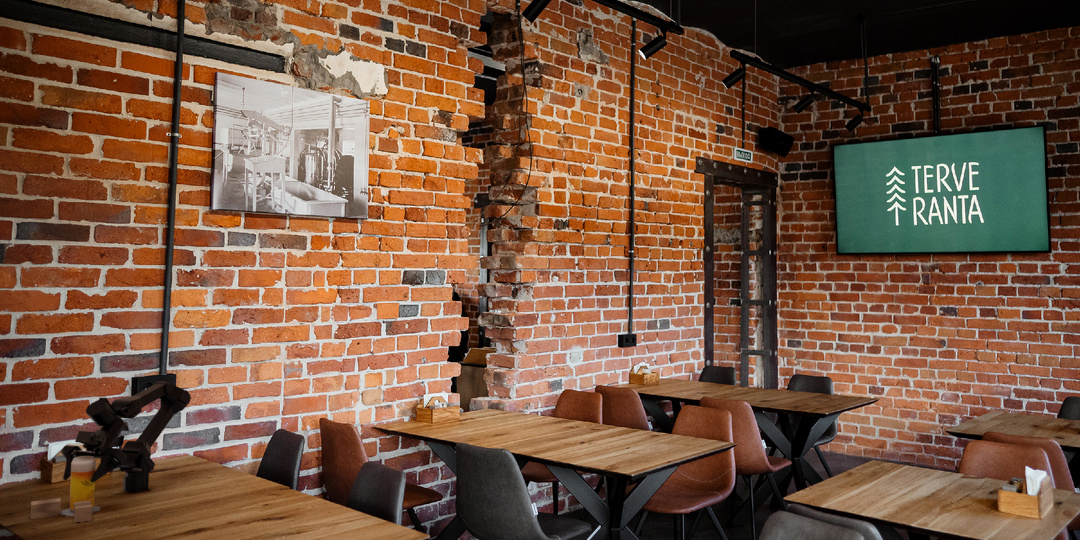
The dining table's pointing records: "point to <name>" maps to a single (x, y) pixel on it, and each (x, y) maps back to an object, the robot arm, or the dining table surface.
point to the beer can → (82, 480)
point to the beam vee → (53, 508)
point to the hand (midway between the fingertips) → (77, 480)
